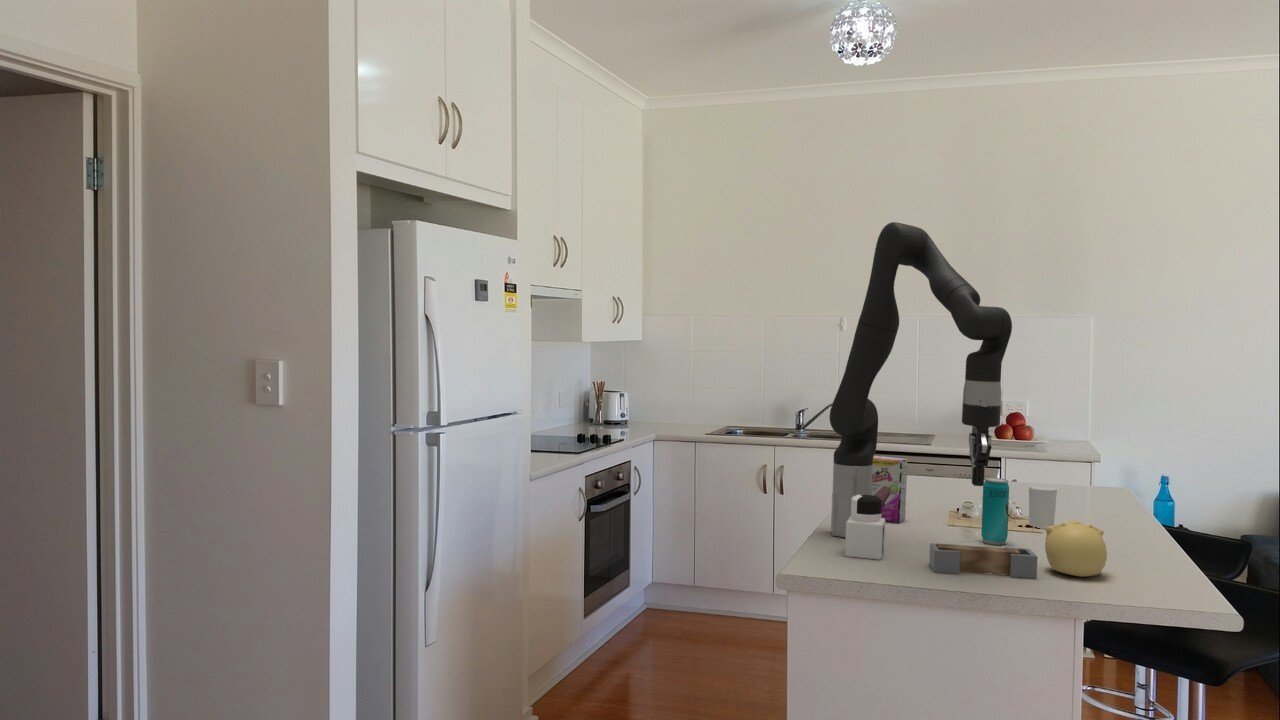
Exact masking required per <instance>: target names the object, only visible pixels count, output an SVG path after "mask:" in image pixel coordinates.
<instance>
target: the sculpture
mask: <svg viewBox="0 0 1280 720" xmlns="http://www.w3.org/2000/svg"><path fill="white" fill-rule="evenodd" d="M1045 531H1046V532H1045V533H1046V536H1045V540H1044V541H1045V543H1044V549H1045V554H1046V559H1047V562H1048V564H1049V566H1050V567H1051V568H1052V569H1053V570H1054V571H1056V572H1059V573H1061V574H1065V575H1068V576H1069V575H1071V576H1075V577H1093V576H1096V575H1098V574H1100V573H1101V572H1102V571H1103V569H1104V568H1105V566H1106V563H1107V559H1108V550H1107V545H1106V542H1105V541H1104V539H1103V536H1104V534H1105V532H1104V530H1102V529H1100V528H1097V526H1093V525H1092V524H1088V523H1082V522H1080V521H1077V520H1070V521H1067V522H1062V523H1058V524H1054V525H1053V526H1048V527H1046V529H1045Z"/></svg>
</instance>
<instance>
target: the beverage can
mask: <svg viewBox="0 0 1280 720" xmlns="http://www.w3.org/2000/svg"><path fill="white" fill-rule="evenodd" d="M1009 501H1010V486H1009V479H1006V478H999V477H998V478H997V477H986V478H985V477H984V485H983V486H982V504H981V505H982V506H981V507H982V508H981V510H982V511H981V537H982V540H983V543H984V544H988V545H993V546H994V545H995V546H1002V545H1005V543H1006V542H1007V539H1008V534H1009V533H1008V531H1009V505H1010V502H1009Z"/></svg>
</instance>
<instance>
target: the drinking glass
mask: <svg viewBox="0 0 1280 720" xmlns="http://www.w3.org/2000/svg"><path fill="white" fill-rule="evenodd" d="M1057 492H1058V489H1057V488H1055V487H1051V486H1046V485H1045V486H1044V485H1043V486H1042V485H1030V486H1029V487H1028V509H1029V510H1028V511H1029V512H1028V515H1029V516H1028V521H1029V523H1028V524H1029V525H1030V526H1033V527H1037V528H1040V529H1039V530H1046V527H1048V526H1053V525H1055V519H1056V518H1055V517H1056V504H1057V494H1058V493H1057ZM1030 526H1029V527H1030ZM1037 528H1036V529H1037Z"/></svg>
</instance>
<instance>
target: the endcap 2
mask: <svg viewBox="0 0 1280 720" xmlns="http://www.w3.org/2000/svg"><path fill="white" fill-rule="evenodd" d="M1003 548H1009V549H1018V551H1019V552H1020V554H1010V575H1009V577H1010V578H1017V577H1022V578H1021V579H1034V578H1037V579H1038V555H1036V553H1035V552H1033V551H1032V549H1030V548H1026V547H1025V548H1024V547H1023V548H1022V547H1003Z"/></svg>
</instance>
